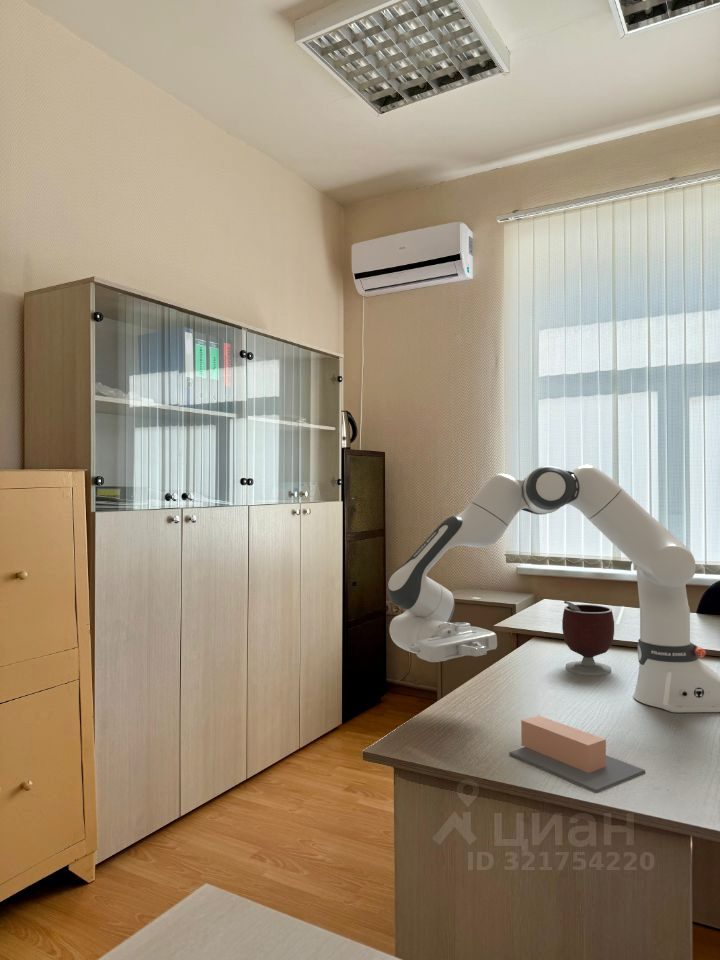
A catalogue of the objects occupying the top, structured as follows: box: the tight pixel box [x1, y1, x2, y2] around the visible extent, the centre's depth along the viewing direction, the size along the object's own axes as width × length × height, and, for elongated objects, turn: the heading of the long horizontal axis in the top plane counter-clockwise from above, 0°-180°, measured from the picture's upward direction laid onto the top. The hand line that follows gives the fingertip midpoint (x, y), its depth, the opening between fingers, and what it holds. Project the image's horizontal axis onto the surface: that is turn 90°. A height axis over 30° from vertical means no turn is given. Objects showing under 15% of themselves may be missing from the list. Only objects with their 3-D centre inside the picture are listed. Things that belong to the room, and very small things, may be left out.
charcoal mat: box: [508, 746, 646, 793], centre depth 130 cm, size 20×14×1 cm
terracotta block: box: [520, 714, 607, 773], centre depth 132 cm, size 5×5×16 cm
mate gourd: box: [561, 600, 615, 676], centre depth 194 cm, size 16×14×20 cm
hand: (481, 651), depth 151 cm, fingers closed
